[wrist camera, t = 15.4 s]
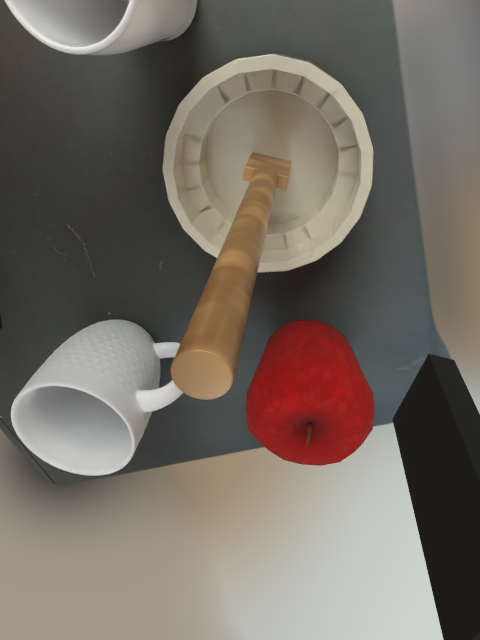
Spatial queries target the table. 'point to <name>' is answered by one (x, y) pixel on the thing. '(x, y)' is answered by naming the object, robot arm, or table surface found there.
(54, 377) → the mug
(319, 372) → the apple
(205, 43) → the table surface
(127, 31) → the white cylinder cup
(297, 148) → the bowl
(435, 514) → the robot arm
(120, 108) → the table surface
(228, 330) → the wooden rod
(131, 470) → the table surface
